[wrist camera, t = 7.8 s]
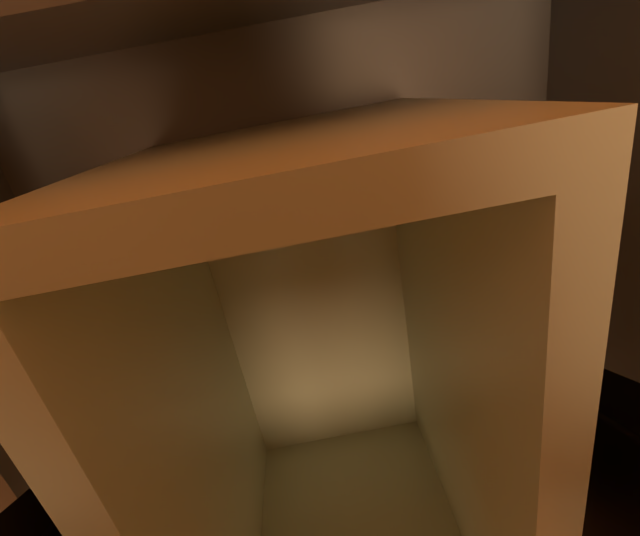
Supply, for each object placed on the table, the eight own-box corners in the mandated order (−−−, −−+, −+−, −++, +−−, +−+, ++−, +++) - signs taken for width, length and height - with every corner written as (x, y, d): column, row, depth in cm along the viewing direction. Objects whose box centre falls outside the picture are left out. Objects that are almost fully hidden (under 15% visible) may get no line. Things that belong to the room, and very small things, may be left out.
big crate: (571, -80, 9) (854, -253, 5) (539, 436, 16) (644, 578, 11) (-75, 42, 9) (-435, -10, 5) (157, 508, 16) (103, 681, 11)
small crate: (402, 97, 10) (638, 103, 3) (430, 418, 13) (559, 711, 7) (152, 146, 10) (-129, 251, 3) (254, 451, 14) (221, 774, 7)
